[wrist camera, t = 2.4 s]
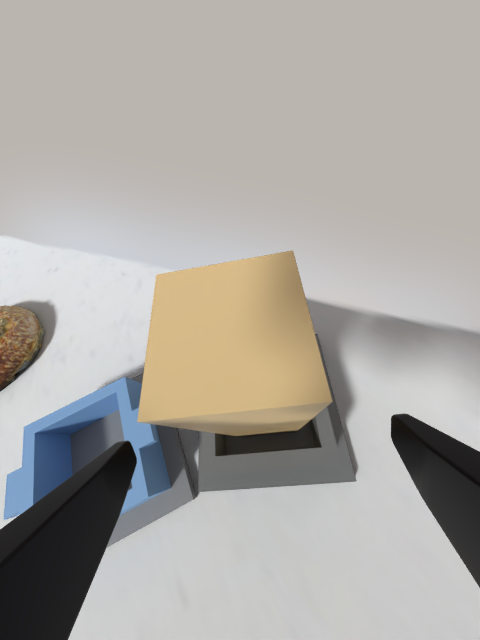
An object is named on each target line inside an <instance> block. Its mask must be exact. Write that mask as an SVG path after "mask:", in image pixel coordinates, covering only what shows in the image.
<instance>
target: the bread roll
mask: <svg viewBox="0 0 480 640" xmlns="http://www.w3.org/2000/svg"><path fill="white" fill-rule="evenodd" d="M42 328H43V327H42V326H41V325H40V323H39V321H38V319H37V318H36V317H35V314H34V313H32V312H31V311H30V310H28V309H24V308H22V307H17V306H1V307H0V391H1V390H2V389H4V388H5V387H6V386H8V385H9V384H10V383H11V382H13V381H14V380H15V376H14V375H15V374H16V373H17V372H19V371H22V370H23V369H25V368H26V367H27V366H29V364H30V363H31V362H32V360H33V359H34V358H35V356H36V355H37V353H38V351H39V349H40V348H41V343H42V339H43V337H44V334H45V332H44V330H43V329H42Z"/></svg>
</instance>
